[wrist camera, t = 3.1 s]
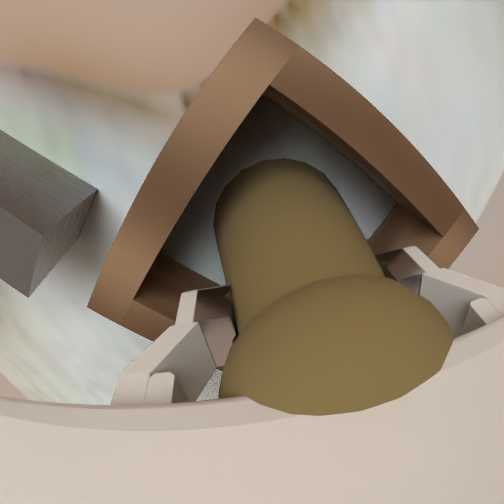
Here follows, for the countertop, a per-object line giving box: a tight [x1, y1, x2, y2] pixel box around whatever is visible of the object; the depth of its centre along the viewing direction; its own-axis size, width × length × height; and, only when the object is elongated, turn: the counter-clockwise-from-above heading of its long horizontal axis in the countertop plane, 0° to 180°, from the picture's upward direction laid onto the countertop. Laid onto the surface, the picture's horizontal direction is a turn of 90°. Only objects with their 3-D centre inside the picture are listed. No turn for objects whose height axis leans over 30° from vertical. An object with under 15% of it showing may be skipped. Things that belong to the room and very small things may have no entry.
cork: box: [213, 158, 455, 416], centre depth 9 cm, size 6×6×11 cm
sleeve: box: [87, 18, 479, 371], centre depth 12 cm, size 12×12×4 cm
